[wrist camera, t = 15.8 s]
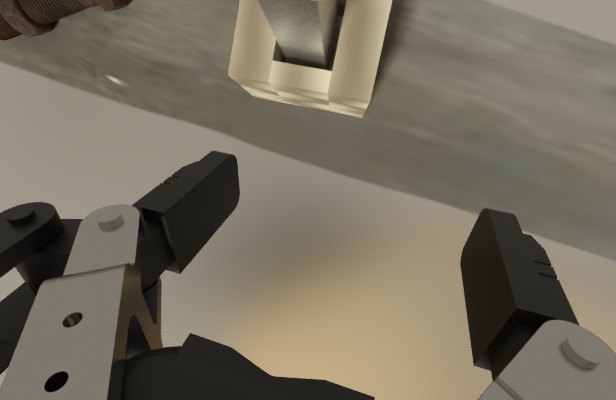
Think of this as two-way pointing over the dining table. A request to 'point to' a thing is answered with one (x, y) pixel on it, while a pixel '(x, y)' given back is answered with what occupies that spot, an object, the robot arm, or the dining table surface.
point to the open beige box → (306, 80)
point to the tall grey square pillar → (304, 29)
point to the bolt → (43, 14)
